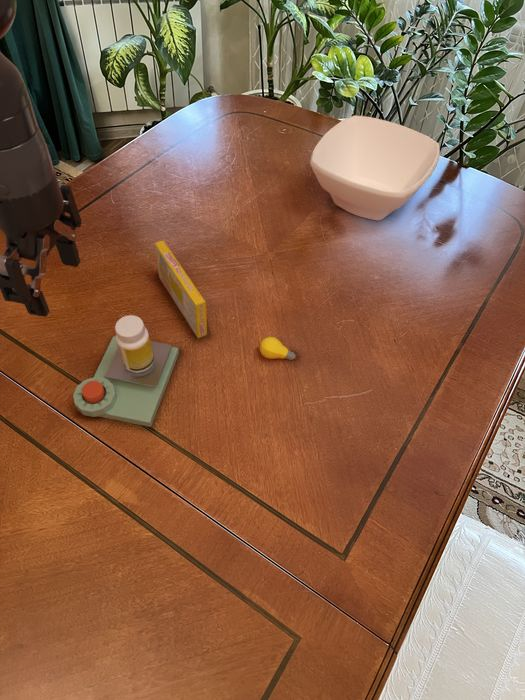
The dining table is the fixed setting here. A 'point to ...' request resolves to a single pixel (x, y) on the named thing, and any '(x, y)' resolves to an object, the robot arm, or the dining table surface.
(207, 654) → the dining table surface
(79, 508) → the dining table surface
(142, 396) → the scale
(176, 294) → the candy box
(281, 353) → the light bulb
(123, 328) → the supplement bottle
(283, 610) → the dining table surface
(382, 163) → the bowl
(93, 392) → the power button
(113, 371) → the scale pan
